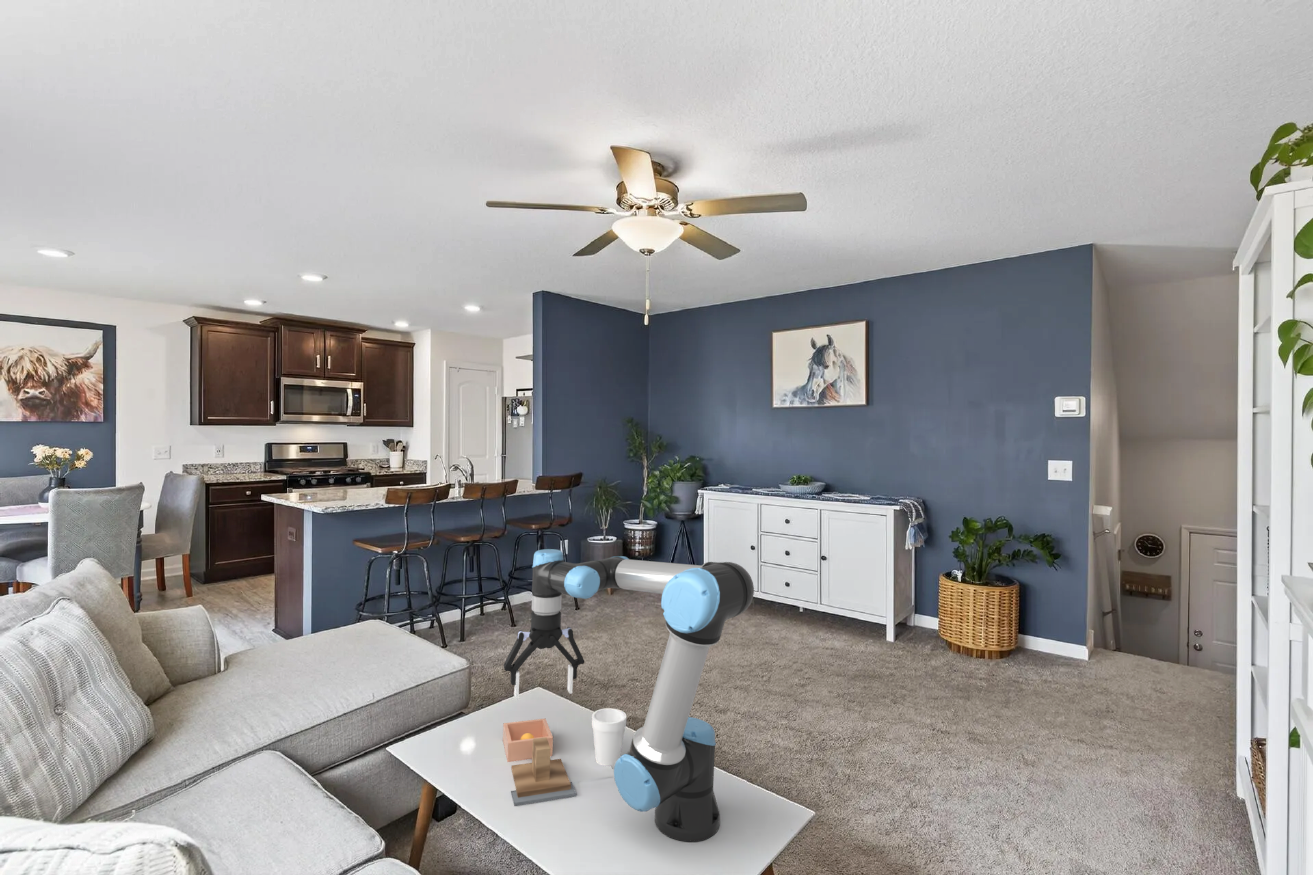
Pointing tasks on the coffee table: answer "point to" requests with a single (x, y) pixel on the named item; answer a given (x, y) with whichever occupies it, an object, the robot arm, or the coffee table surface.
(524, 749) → the pink open box
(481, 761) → the coffee table surface
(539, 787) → the lid
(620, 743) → the foam cup
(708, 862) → the coffee table surface
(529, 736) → the clementine
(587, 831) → the coffee table surface
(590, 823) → the coffee table surface
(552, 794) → the mat
